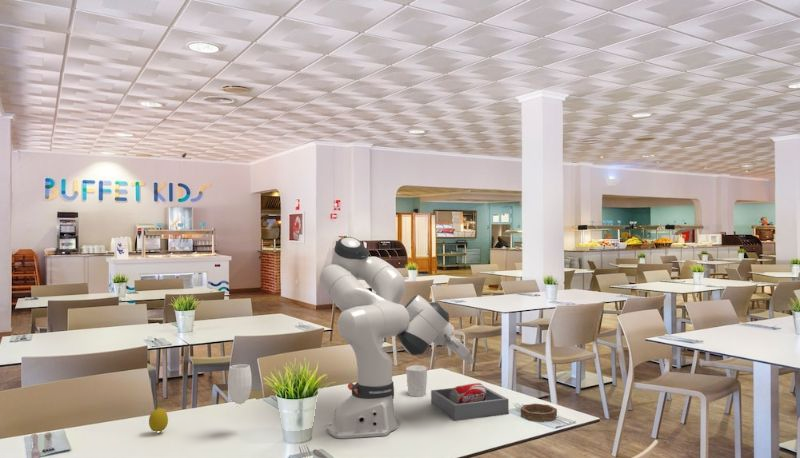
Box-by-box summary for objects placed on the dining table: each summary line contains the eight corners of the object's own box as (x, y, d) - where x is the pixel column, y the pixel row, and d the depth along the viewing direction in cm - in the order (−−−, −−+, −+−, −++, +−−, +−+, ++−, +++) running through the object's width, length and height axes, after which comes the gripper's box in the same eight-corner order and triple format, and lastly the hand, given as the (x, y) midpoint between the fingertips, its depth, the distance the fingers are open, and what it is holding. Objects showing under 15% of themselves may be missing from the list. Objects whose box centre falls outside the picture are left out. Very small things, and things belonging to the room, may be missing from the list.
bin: (454, 420, 198) (454, 405, 198) (431, 404, 216) (431, 390, 216) (508, 413, 204) (508, 399, 204) (481, 398, 223) (481, 384, 223)
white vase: (227, 430, 190) (226, 365, 190) (250, 427, 193) (250, 363, 193) (229, 438, 183) (228, 370, 183) (253, 435, 186) (252, 367, 186)
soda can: (487, 406, 212) (458, 411, 206) (475, 397, 218) (447, 402, 212) (488, 386, 211) (460, 391, 205) (477, 379, 217) (449, 383, 211)
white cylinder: (403, 392, 232) (403, 366, 232) (423, 390, 234) (423, 365, 234) (410, 398, 225) (410, 371, 225) (430, 396, 227) (430, 369, 227)
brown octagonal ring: (533, 423, 194) (533, 415, 194) (515, 413, 205) (515, 406, 205) (562, 419, 198) (562, 411, 198) (543, 409, 208) (543, 402, 208)
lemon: (148, 437, 185) (147, 411, 185) (150, 431, 190) (150, 406, 190) (167, 435, 186) (166, 409, 186) (169, 429, 192) (168, 404, 192)
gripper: (455, 331, 199) (484, 359, 201) (441, 321, 219) (467, 347, 221) (442, 345, 198) (471, 373, 200) (429, 334, 219) (455, 359, 220)
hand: (469, 359), depth 211 cm, fingers open, 7 cm apart
